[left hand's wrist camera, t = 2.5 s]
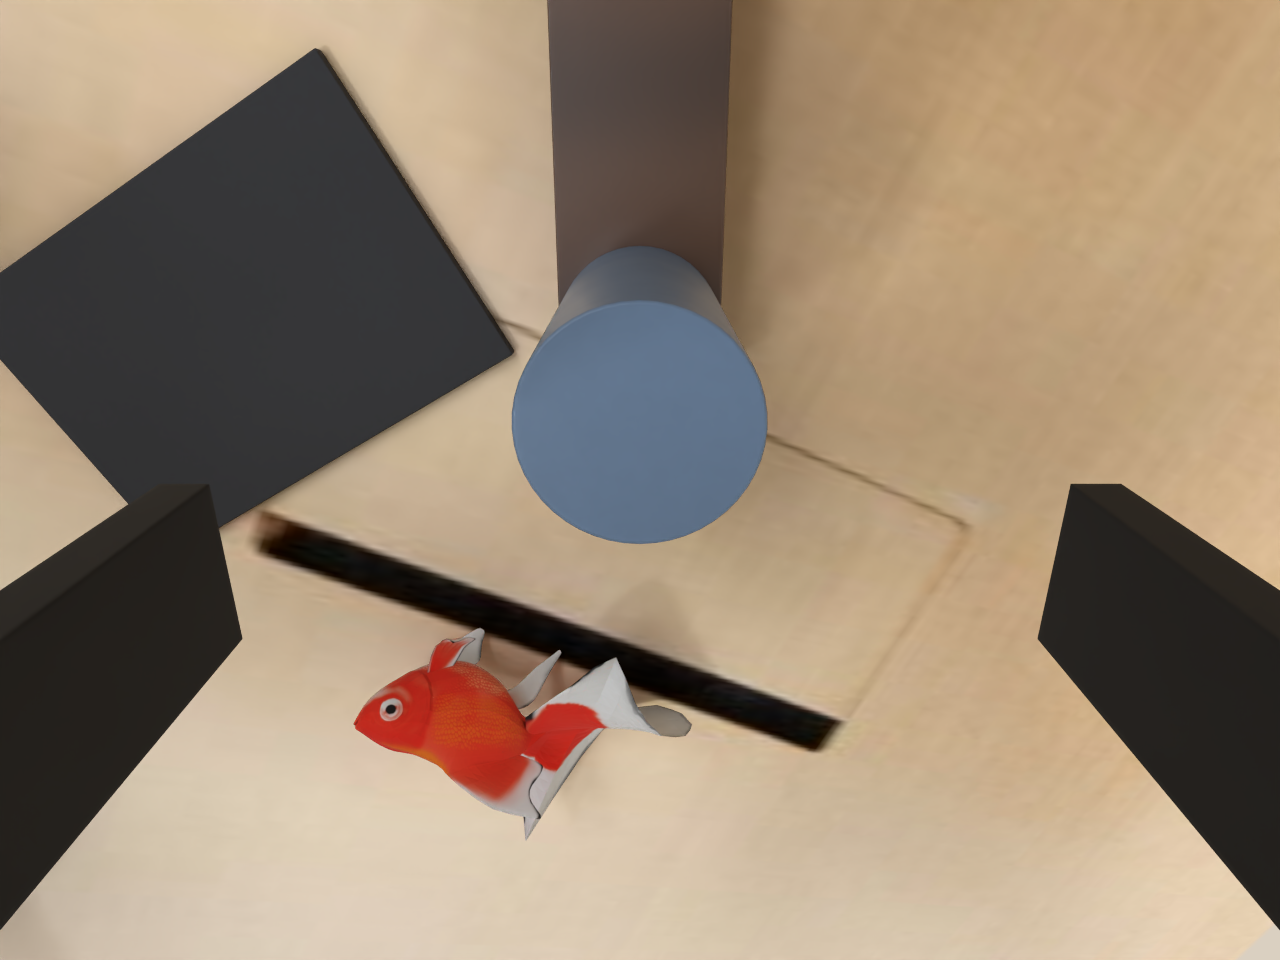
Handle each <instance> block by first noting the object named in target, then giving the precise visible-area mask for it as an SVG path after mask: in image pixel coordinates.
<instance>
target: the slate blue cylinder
mask: <svg viewBox="0 0 1280 960" xmlns="http://www.w3.org/2000/svg"><path fill="white" fill-rule="evenodd" d="M512 434H513V441H514V447H515V450H516V454H517V458H518V461H519V463H520V466H521V468H522V470H523V473H524V475H525V477H526V478H527V480H528V482H529V483H530V485H531V487H532V488H533V490H534V491H535V492H536V494H537V495H538V496H539V497H540V499H541V500H542V501H543V502H544V503H545V504H546V505H547V506H548V507H549V508H550V509H551V510H552V511H553V512H554V513H556V514H557V515H558V516H559V517H561V518H562V519H563V520H565V521H566V522H568V523H569V524H571V525H573V526H574V527H576V528H578V529H580V530H582V531H584V532H586V533H589V534H591V535H593V536H596V537H600V538H603V539H606V540H610V541H616V542H621V543H633V544H646V543H658V542H663V541H669V540H673V539H676V538H680V537H683V536H686V535H688V534H691V533H693V532H695V531H697V530H700V529H701V528H703V527H705V526H706V525H708V524H710V523H712V522H713V521H715V520H716V519H717V518H718V517H720V516H721V515H722V514H724V513H725V512H726V511H727V510H728V509H729V508H730V507H731V506H732V505H733V504H734V503H735V502H736V501H737V500H738V499H739V498H740V496H741V495H742V494H743V493H744V491H745V490H746V489H747V487H748V485H749V484H750V482H751V480H752V479H753V477H754V475H755V473H756V471H757V468H758V466H759V464H760V461H761V458H762V455H763V451H764V447H765V443H766V435H767V408H766V401H765V396H764V392H763V389H762V385H761V382H760V379H759V377H758V375H757V373H756V371H755V368H754V366H753V364H752V362H751V361H750V359H749V357H748V355H747V353H746V351H745V350H744V348H743V346H742V344H741V342H740V341H739V339H738V337H737V335H736V333H735V331H734V330H733V328H732V326H731V324H730V322H729V320H728V319H727V317H726V315H725V313H724V311H723V309H722V308H721V306H720V304H719V302H718V300H717V298H716V297H715V295H714V293H713V291H712V289H711V288H710V286H709V284H708V283H707V281H706V280H705V278H704V277H703V276H702V275H701V274H700V272H699V271H698V270H697V269H696V268H695V267H694V266H692V265H691V264H690V263H689V262H687V261H686V260H684V259H683V258H682V257H680V256H678V255H676V254H674V253H672V252H669V251H666V250H663V249H660V248H655V247H649V246H631V247H625V248H620V249H616V250H614V251H611V252H608V253H606V254H604V255H602V256H600V257H598V258H597V259H595V260H594V261H592V262H591V263H590V264H588V265H587V266H586V267H585V268H584V269H583V270H582V271H581V272H580V273H579V274H578V276H577V277H576V278H575V279H574V281H573V282H572V284H571V286H570V287H569V289H568V291H567V293H566V294H565V296H564V298H563V300H562V302H561V303H560V305H559V307H558V309H557V311H556V312H555V314H554V316H553V318H552V320H551V321H550V323H549V325H548V327H547V329H546V330H545V332H544V334H543V336H542V338H541V339H540V341H539V343H538V345H537V347H536V348H535V350H534V352H533V354H532V356H531V357H530V359H529V361H528V363H527V365H526V366H525V369H524V371H523V373H522V375H521V378H520V380H519V382H518V386H517V389H516V393H515V396H514V402H513V409H512Z"/></svg>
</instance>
